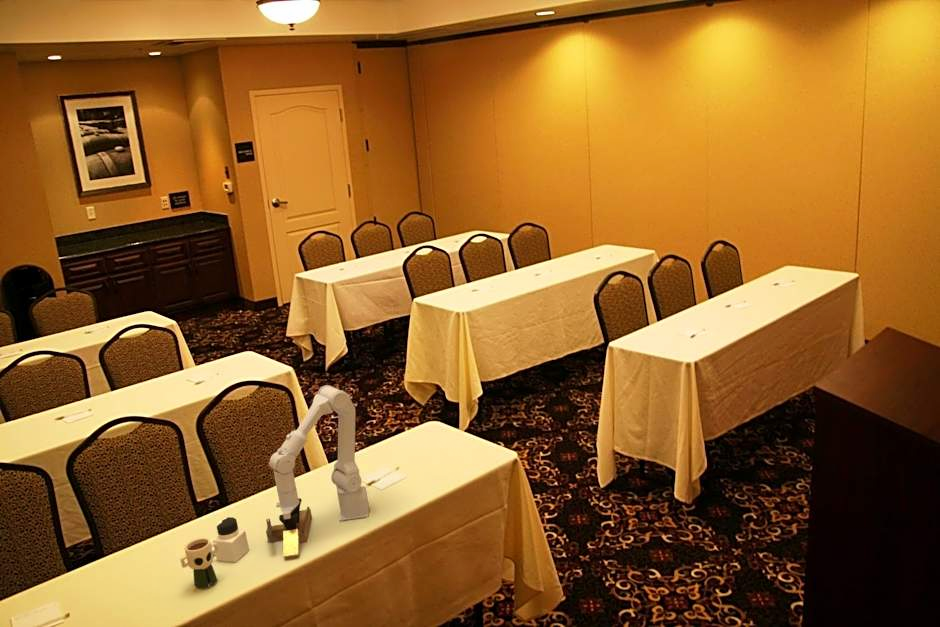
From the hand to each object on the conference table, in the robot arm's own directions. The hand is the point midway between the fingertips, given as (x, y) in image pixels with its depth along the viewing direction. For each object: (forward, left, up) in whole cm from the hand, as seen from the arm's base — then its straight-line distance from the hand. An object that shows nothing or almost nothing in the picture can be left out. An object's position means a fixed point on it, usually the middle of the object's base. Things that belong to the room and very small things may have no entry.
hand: (294, 528), depth 244 cm
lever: (+7, +2, 0) cm, 7 cm away
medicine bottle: (+19, +4, -4) cm, 20 cm away
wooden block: (0, +7, -1) cm, 8 cm away
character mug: (+24, +18, -4) cm, 30 cm away
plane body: (+3, -5, -4) cm, 7 cm away
